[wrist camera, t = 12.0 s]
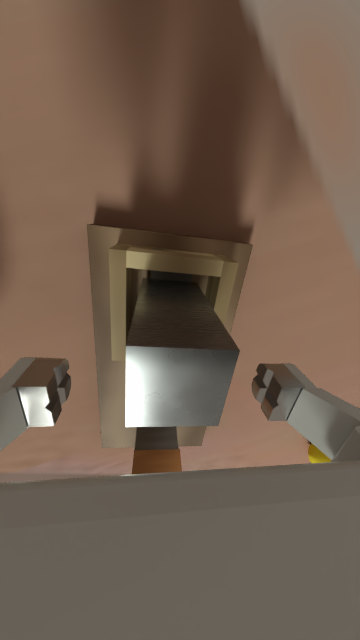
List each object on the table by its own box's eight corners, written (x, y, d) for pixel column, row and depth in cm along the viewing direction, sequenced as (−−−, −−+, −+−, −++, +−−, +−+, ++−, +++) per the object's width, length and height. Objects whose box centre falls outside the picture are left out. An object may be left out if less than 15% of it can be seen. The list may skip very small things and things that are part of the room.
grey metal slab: (142, 277, 15) (125, 345, 7) (196, 282, 15) (239, 350, 7) (140, 333, 17) (125, 436, 9) (188, 335, 17) (215, 434, 9)
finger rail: (104, 436, 25) (69, 582, 15) (93, 223, 15) (-39, 232, 5) (199, 434, 27) (224, 565, 17) (245, 242, 17) (381, 278, 7)
